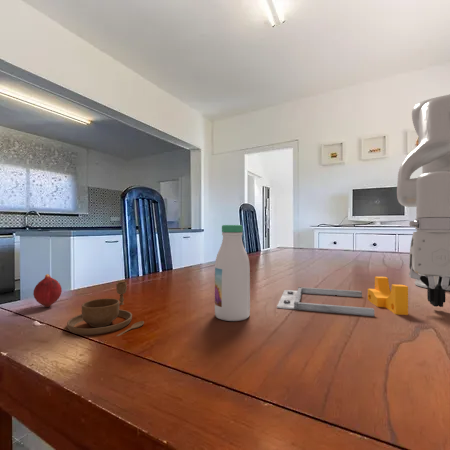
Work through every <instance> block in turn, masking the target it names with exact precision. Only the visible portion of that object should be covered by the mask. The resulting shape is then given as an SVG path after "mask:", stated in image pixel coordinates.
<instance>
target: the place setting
mask: <svg viewBox="0 0 450 450" xmlns="http://www.w3.org/2000/svg"><path fill="white" fill-rule="evenodd" d="M127 284H128V283H127V282H126V281H120V282H116V284H115V285H116V286H115V287H116V293H117V295H119V299H116V298H109V297H108V298H107V297H106V298H98V299H92V300H88V301H86V302H83V303H82V304H81V314H78V315H75V316H73V317H72V318H70V319H68V321H67V323H66V324H67V325H66V326H67V329H68V331H70V332H71V333H72V334H76V335H79V336H80V335H83V336H87V335H88V336H94V335H95V336H96V335H102V334H108V333H113V332H115V331H119V330H121V329H123V328H125V327H127V326H128V325H129V324H130V323H131V321H132V319H133V313H132V312H130V311H128V310H124V309H120V306H122V305H125V303H124V301H125V298H124V295H125V293H127V287H128V286H127ZM117 317H118V318H119V317H120V318H123V319H125V320H124V321H121V322H119V323H116V324H112V322H113V321H115V320H116V319H118V318H117ZM82 322H85V323H86V324H88V325H89V326H90V327H91V328H86V327H85V328H83V327H82V328H80V327H75V326H76V325H77V324H79V323H82ZM110 324H112V325H110ZM144 324H145V321H144V320H140V321H137V322H134V323H133V324H132V325H131V326H130V327H129V328H127V329H126V330H124V331H122V332H120V333H119V334H117V335H115V336H116V337H120V336H122V335H124V334H125V333H127V332H129V331H130V330H136V329H138V328H140V327H142V326H143V325H144Z"/></svg>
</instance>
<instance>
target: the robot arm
mask: <svg viewBox="0 0 450 450" xmlns="http://www.w3.org/2000/svg"><path fill="white" fill-rule="evenodd" d="M411 110H412V111H411V121H412V125H413V127H414V130H415V133H416V135H417V137H418V138H417V140H418V143H417V144H418V145H417V146H416V147H415V148H414V149H413V150H412V151H411V152H410V153H409V154H408V155H406V157H405V159H404V160H402V163H401V164H400V167H399V169H398V172H397V184H396V185H397V186H396V197H397V201H398V204H400V205H401V206H403V207H405V208H407V207H408V208H416V211H415V212H416V214H415V216H416V218H415V219H414V220H410V221H409V223H408V224H409V225H408V226H409V227H411V228H415V231H413V232H412V237H411V240H410V247H409V256H408V257H409V258H408V259H409V261H408V262H409V263H408V265H409V266H408V267H409V273H408V277H409V278H410V279H414V280H415V281H414V285H415V286H418V287H421V288H426V291H427V292H426V293H427V295H426V296H427V301H428V302H429V304H430V305H432V306H433V307H436V308H437V307H440V308H443V307H444V304H445V303H446V291H448V292H449V291H450V94H445V95H440V96H437V97H432V98H429V99H426V100H423V101H420V102H418V103H416V104H415V105H414V106H413V107H412V109H411ZM420 168H421V171H422V172H421V173H422V174H420V175H419V176H417V177H415V178H411V176H412V175H413V174H414V172H416V171H417V170H418V169H420Z"/></svg>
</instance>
